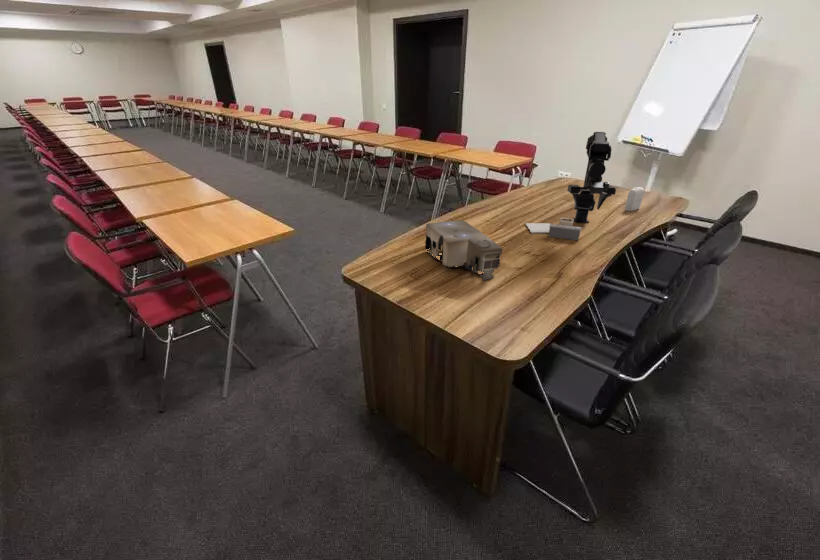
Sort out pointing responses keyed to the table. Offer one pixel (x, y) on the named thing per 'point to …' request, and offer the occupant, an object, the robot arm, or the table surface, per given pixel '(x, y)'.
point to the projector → (463, 247)
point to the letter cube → (566, 221)
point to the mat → (538, 227)
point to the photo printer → (634, 199)
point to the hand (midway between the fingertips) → (587, 208)
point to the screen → (564, 231)
